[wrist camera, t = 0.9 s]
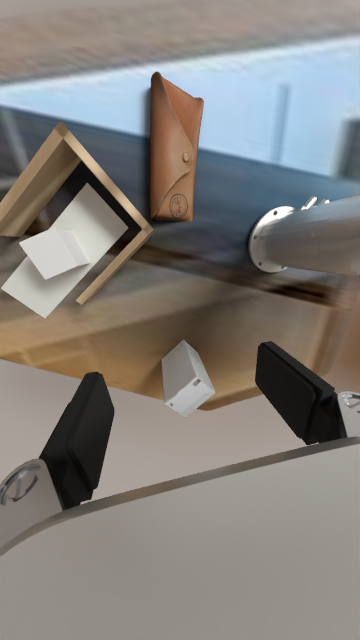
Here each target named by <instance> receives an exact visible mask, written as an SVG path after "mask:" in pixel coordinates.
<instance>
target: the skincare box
mask: <svg viewBox="0 0 360 640" xmlns="http://www.w3.org/2000/svg"><path fill="white" fill-rule="evenodd" d="M161 360H162V375H163V392H164V404H165V405H166V406H168V407H170V408H171V409H172V410H174V411H176V412H177V413H179V414H180V415H181V416H183V417H185V418H186V417H187V416H188V415H189V414H190V413H192V412H193V411H194V410H195V409H196V408H198V407H199V406H200V405H201V404H202V403H204V402H205V401H206V400H207V399H208V398H210V397H211V396H212V395H213V394H215V390H214V388H213V386H212V383H211V381H210V379H209V377H208V375H207V372H206V370H205V368H204V366H203V363H202V361H201V359H200V357H199V354H198V352H197V351H195V350H194V349H193V348H192V347H191V346H190V345H189V344H188V343H187V342H186V341H185V340H182V341H181V342H180V343H179V344H178V345H177V346H175V347H174V348H173V349H172V350H171V351H170V352H169V353H168V354H167V355H166V356H165V357H164V358H162V359H161Z"/></svg>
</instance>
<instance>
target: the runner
mask: <svg viewBox="0 0 360 640" xmlns="http://www.w3.org/2000/svg"><path fill="white" fill-rule="evenodd" d="M54 227H56V228H60V229H65V230H69V231H72V232H73V233H74V235H75V237H76V238H77V240H78V242H79V244H80V245H81V247H82V249H83V250H84V252H85V254H86V256H87V257H88V259H89V261H90V262H91V263H90V264H87V265H85V266H83V267H81V268H78V269H76V270H74V271H71V272H69V273H67V274H64V275H61V276H58V277H54V278H50V279H47V280H45V279H44V277H43V276H42V274H41V273H40V272H39V270H38V269H37V268H36V266H35V265H34V263H33V262H32V261H31V259H30V258H29V256H27V257H26V258H25V259H24V261H23V262H22V263H21V264H20V265H19V267H18V268H17V269H16V270H15V272H14V273H13V274H12V275H11V276H10V278H9V279H8V280H7V281H6V283H5V284H4V285H3V286H2V287H1V289H2V290H4V291H5V292H7V293H8V294H10V295H11V296H13V297H14V298H15V299H17V300H18V301H20V302H21V303H23V304H24V305H26V306H27V307H29V308H30V309H31V310H33V311H34V312H36V313H37V314H39V315H40V316H42V317H43V318H46V317H47V316H48V315H49V314H50V313H51V312H52V311H53V310H54V309H55V308H56V306H57V305H58V304H59V303H60V302H61V301H62V300H63V299H64V298H65V297H66V296H67V294H68V293H69V292H70V291H71V290H72V289H73V288H74V287H75V286H76V285H77V284H78V282H79V281H80V280H81V279H82V278H83V277H84V276H85V275H86V274H87V273H88V272H89V270H90V269H91V268H92V267H93V266H94V265H95V264H96V263H97V262H98V261H99V260H100V259H101V257H102V256H103V255H104V254H105V253H106V252H107V251H108V250H109V249H110V248H111V247H112V245H113V244H114V243H115V242H116V241H117V240H118V239H119V238H120V237H121V236H122V235H123V233H124V232H125V231H126V230H127V229H128V226H127V225H126V224H125V223H124V222H123V221H122V220H121V219H120V218H119V217H118V216H117V214H116V213H115V212H114V211H113V210H112V209H111V208H110V207H109V206H108V205H107V203H106V202H105V201H104V200H103V199H102V198H101V197H100V196H99V195H98V194H97V193H96V191H95V190H94V189H93V188H92V187H91V186H90V185H89V184H88V183H86V185H85V186H84V187H83V188H82V189H81V191H80V192H79V193H78V194H77V196H76V197H75V198H74V199H73V200H72V202H71V203H70V204H69V205H68V207H67V208H66V209H65V210H64V211H63V213H62V214H61V215H60V216H59V218H58V219H57V220H56V221H55V223H54V224H53V225H52V226H51V227H50V229H51V228H54Z"/></svg>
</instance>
